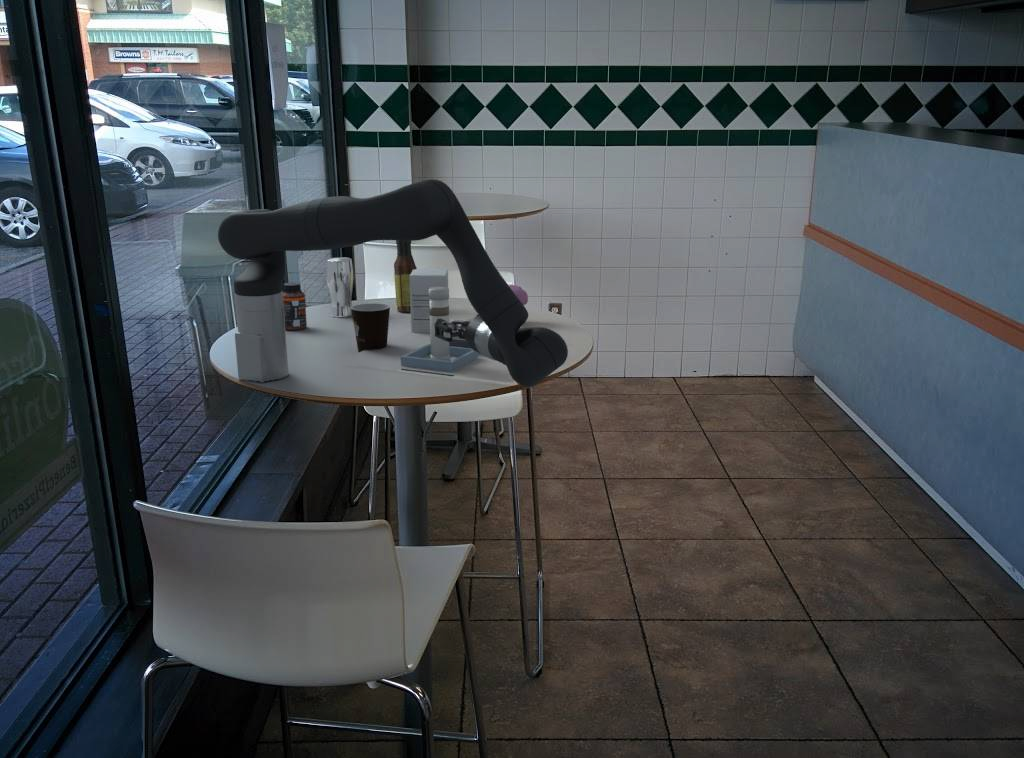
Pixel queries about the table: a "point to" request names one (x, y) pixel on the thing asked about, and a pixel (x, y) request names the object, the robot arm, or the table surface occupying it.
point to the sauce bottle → (403, 275)
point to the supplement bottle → (294, 307)
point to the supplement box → (423, 296)
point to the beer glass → (340, 285)
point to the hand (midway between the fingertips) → (458, 321)
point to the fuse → (436, 311)
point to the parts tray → (417, 361)
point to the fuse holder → (459, 343)
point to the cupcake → (520, 293)
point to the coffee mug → (371, 325)
